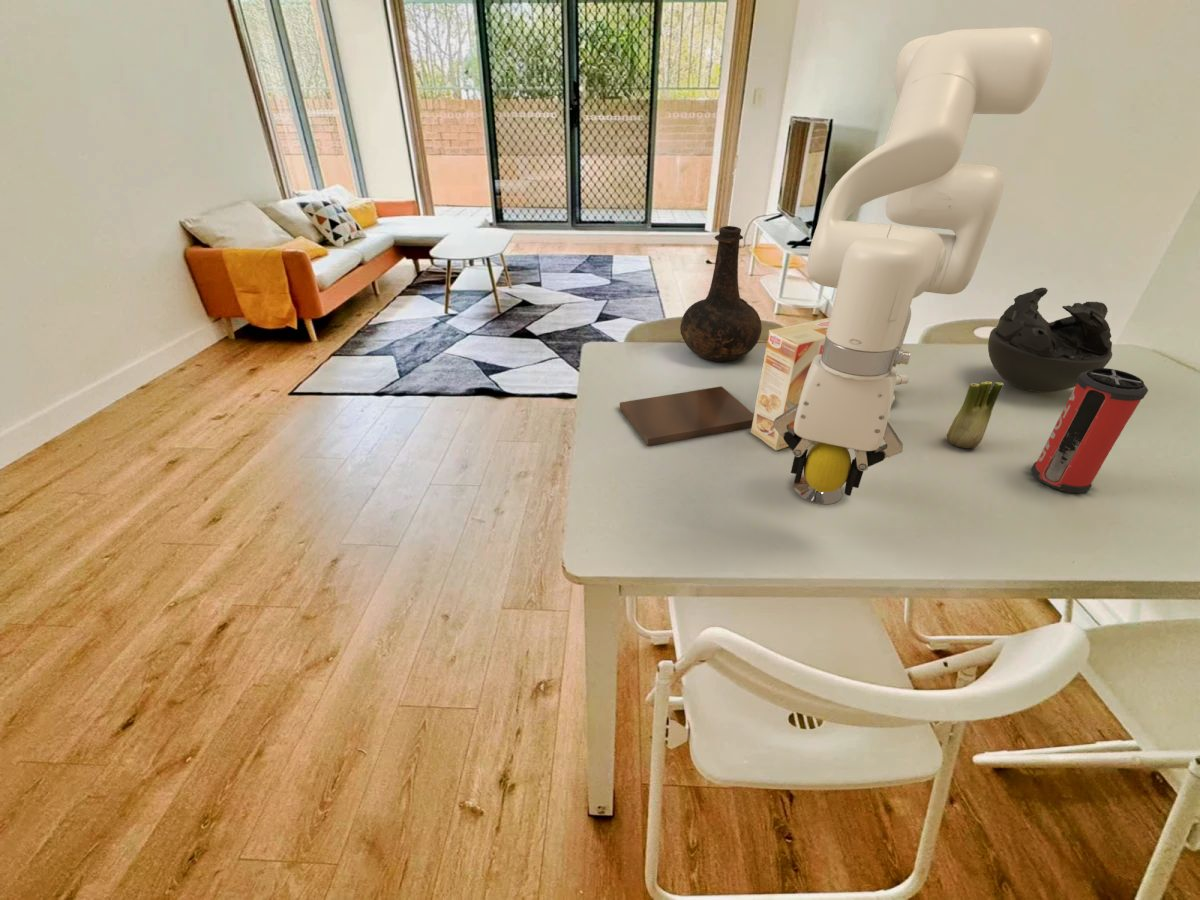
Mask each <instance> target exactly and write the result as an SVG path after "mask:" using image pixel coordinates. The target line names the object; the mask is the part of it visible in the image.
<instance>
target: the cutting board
mask: <svg viewBox="0 0 1200 900" xmlns="http://www.w3.org/2000/svg"><path fill="white" fill-rule="evenodd" d="M619 410H620V412H621V413H622V414H623V416H624V417H625V418H626V420H627V421H628V423H630V425H631V426H632V428H633V429H634V430H635V431H636V433H637V434H638V435H639V436H640V438H641V439H642V441H643V442H644V443H645V444H646V446H647V447H649V446H654V445H655V446H656V445H661V444H665V443H671V442H676V441H683V440H688V439H692V438H698V437H703V436H704V437H705V436H710V435H715V434H720V433H727V432H729V431H730V432H732V431H736V430H742V429H747V428H752V423H753V418H754V413H753V412H752V411H751V410H750V409H748V408H747V407H746V406H745V405H744V404H743V403H742V402H740V401H739V399H737V398H736V397H735V396H734V395H732V394H731V393H730V392H729V391H728V390H726V388H724V387H723V386H722V385H721V386H714V387H708V388H702V389H696V390H690V391H689V390H688V391H684V392H677V393H671V394H665V395H659V396H653V397H647V398H639V399H634V400H626V401H620V402H619Z"/></svg>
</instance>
